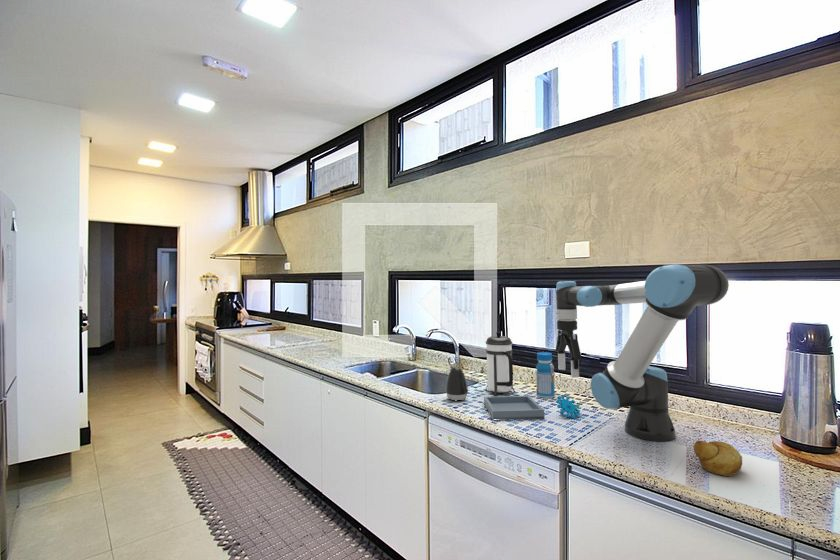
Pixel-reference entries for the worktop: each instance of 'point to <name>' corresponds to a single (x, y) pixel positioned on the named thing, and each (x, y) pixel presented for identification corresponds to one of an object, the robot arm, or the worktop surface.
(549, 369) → the beverage bottle
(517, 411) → the tray
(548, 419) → the worktop surface
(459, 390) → the pump dispenser
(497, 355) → the coffee press
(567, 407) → the gear
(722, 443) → the bread roll
